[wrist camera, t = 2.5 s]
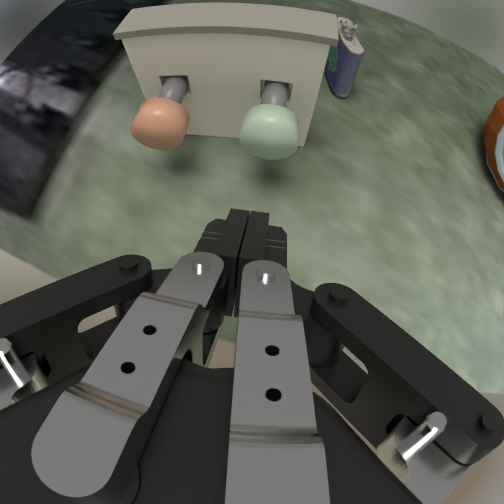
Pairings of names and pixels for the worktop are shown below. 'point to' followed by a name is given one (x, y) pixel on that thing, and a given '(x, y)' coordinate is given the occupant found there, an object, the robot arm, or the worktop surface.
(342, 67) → the flask
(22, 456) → the robot arm
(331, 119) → the worktop surface
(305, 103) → the panel
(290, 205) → the worktop surface
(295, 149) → the sage button
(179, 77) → the terracotta button
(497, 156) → the alarm clock
